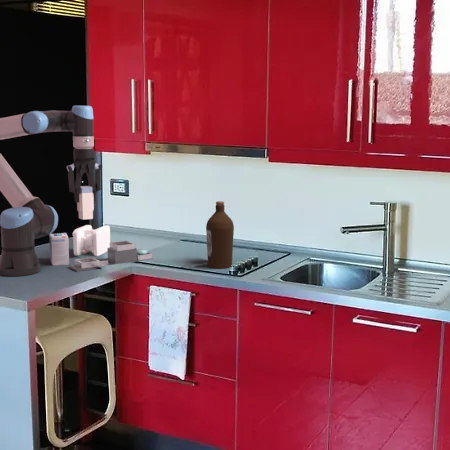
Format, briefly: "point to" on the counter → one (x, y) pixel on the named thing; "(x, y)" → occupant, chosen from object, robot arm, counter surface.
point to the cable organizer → (91, 240)
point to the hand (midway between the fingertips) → (85, 210)
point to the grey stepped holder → (112, 257)
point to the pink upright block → (86, 203)
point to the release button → (141, 251)
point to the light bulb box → (59, 249)
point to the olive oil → (219, 238)
